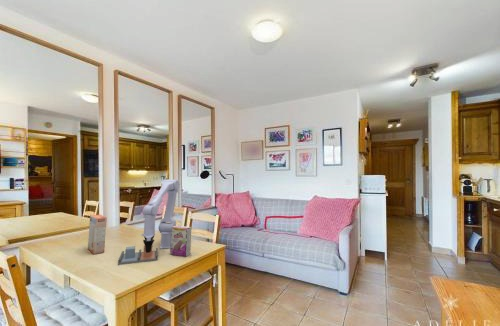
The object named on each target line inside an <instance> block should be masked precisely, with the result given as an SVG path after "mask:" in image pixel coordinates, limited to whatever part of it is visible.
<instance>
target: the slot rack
mask: <svg viewBox="0 0 500 326" xmlns="http://www.w3.org/2000/svg"><path fill="white" fill-rule="evenodd" d="M143 252H144V251H142V249H138V252H136V251H135V257H134V258H129V259H125V251H124V250H123V251H121V253H120V255H119V258H118V261H117V265H118V266H120V265H121V266H122V265H127V264H128V265H129V264H137V263H146V262H148V263H149V262H155V261H158V260H159V259H158V258H159V254H158V253H159V248H158V247H156V248H155V250H152V256H148V257H143Z"/></svg>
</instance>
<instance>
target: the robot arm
mask: <svg viewBox="0 0 500 326" xmlns="http://www.w3.org/2000/svg"><path fill="white" fill-rule="evenodd" d="M179 189H180V182H179V180H178V179H168V178H167V179H163V180H162V181H161V187H160V189H159V191H158V193H157V194H156V195H153V197H152V198H151V200H150V201H149V202H148V204H146V205H145V206H143V209H142V214H143V219H144V221H143V222H144V224H143V233H142V234H141V235H140V236H141V237H143V238H144V239H143V240H142V242H143V244H144V245H145V249H146V253H149V252H151V247H152V248H153V244H154V242H155V239H154V237H155V235H156V216H157V214H158V212H159V208H160V205H161V204H162V202H163V198H164V196H166V193H167V194H168V196H167V199H166V200H167V202H166V206H165V207H166V208H165V213H164V217H163V218H161V219H160V222H159V225H158V232H159V233H160V244H159V249H160V250H161V249H171V229H172V227H173V226H176V225H177V221H176V219H174V213H175V212H174V211H175V205H176V199H177V193H179Z"/></svg>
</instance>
